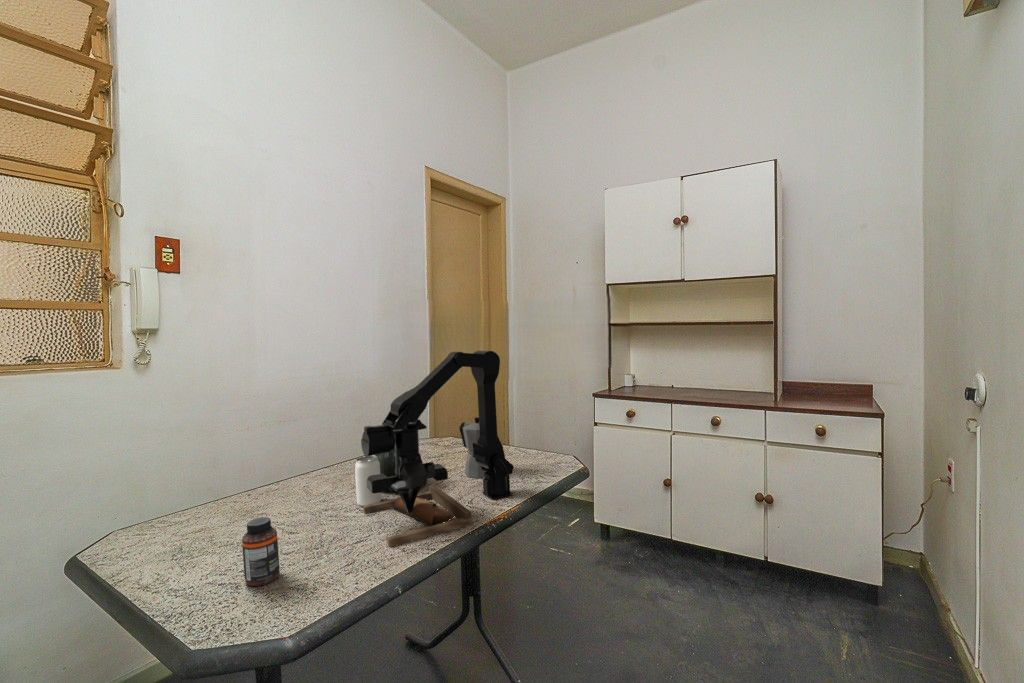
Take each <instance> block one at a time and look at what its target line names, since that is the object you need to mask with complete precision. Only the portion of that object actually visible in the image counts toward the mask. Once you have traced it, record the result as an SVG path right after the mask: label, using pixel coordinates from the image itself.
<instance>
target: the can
mask: <svg viewBox="0 0 1024 683" xmlns="http://www.w3.org/2000/svg"><path fill="white" fill-rule="evenodd" d="M355 461H356V463H355V465H354V472H355V473H354V475H355V476H354V477H355V489H356V490H355V492H356V494H355V495H356V504H357V505H358V506H359V505H360V507H363V506H366V505H370V504H375V503H379V502H382V498H383V496H382V492H380V493H371V491H370V490H369V489H368V488H367V478H368V477H369V476H372V475H378V474H380V463H379V461H378V457H377V456H375V455H372V456H365V455H364V456H361V457H358V458H357V459H356V460H355Z"/></svg>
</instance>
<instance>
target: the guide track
mask: <svg viewBox="0 0 1024 683" xmlns="http://www.w3.org/2000/svg"><path fill="white" fill-rule="evenodd" d="M428 489H429V491H424V492H421V493H420V492H419V493H418V494H417V497H416V498H421V499H424V500H425V499H426V500H430V499H429V498H431V499H432V500H433V499H434V500H435V501H434V500H433V501H434V502H435V503H436V504H438V503H439V504H440V505H439V504H438V505H439V506H440V507H442V506H443V507H444V508H445V509H446V510H448V511H449V512H451V513H452V514H453V515H454V516H455V517H456V518H455V519H452V520H450V521H447V522H445V523H441V524H437V525H433V526H430V525H428V526H426V527H423V528H419V529H414V530H410V531H407V532H403V533H399V534H396V535H391V536H388V537H386V543H387V544H388V545H387V544H386V545H387V546H388V548H390V546H391V547H393V546H394V545H395V546H397V545H398V546H399V545H401V543H402V544H405V542H406V543H409V542H413V541H417V540H420V539H423V537H424V538H427V536H428V537H431V536H434V535H433V534H435V535H438V534H437V533H439V534H442V532H443V533H446V532H450V531H454V530H456V528H457V529H461V528H463V527H464V526H465V527H467V525H468V526H471V525H474V524H475V520H474V518H475V517H473V516H472V511H471V510H469V509H468V508H467V507H465V505H462V504H461V503H460V502H459V501H457V500H456V499H454V498H453V497H452V496H450V495H449V494H448V493H446V492H445V491H444V490H442V489H440V487H438V486H437V485H435V484H432V485H429V488H428ZM396 499H397V498H393V499H388V500H385V501H380V502H379V503H375V504H370V505H366V506H362V509H363V511H362V512H363V513H364V514H365V513H366V514H368V513H369V514H370V513H373V512H378V510H379V511H383V510H387V509H391V507H392V508H393V504H394V502H395V500H396ZM443 507H442V508H443ZM453 529H454V530H453ZM449 530H450V531H449ZM430 535H431V536H430ZM416 539H417V540H416ZM412 540H413V541H412Z"/></svg>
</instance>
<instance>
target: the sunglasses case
mask: <svg viewBox="0 0 1024 683" xmlns="http://www.w3.org/2000/svg"><path fill="white" fill-rule="evenodd" d="M395 499H396V500H395V502H394V504H393V507H392V509H393V510H394V511H396V512H399V513H403V514H406V515H408V516H409V517H412V518H414V519H416V520H418V521H420V522H423V523H424V524H427V525H428V526H433V525H437V524H441V523H443V522H446V521H447V522H448V520H449V519H452V518H453V517H454V515H453V514H452V513H451V512H449V511H447V510H446V509H444V508H443V507H442V506H440V505H437V502H435V501H434V502H433V500H432V501H431V500H430V499H426V500H424V499H421V498H416V500H415V503H414V506H413V509H412V512H411V513H408V512H407V510H406V508H405V506H404V503H403V501H402V498H401V496H399V497H397V498H395ZM452 520H453V519H452Z"/></svg>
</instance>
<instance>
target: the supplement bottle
mask: <svg viewBox="0 0 1024 683" xmlns="http://www.w3.org/2000/svg"><path fill="white" fill-rule="evenodd" d="M271 521H272V520H271V518H270V517H267V516H261V517H256V518H253V519H250V520H248V522H247V523H246V530H247V531H246V533H244V535H243V536H242V539H241V543H242V544H241V547H242V557H243V558H242V559H243V573H244V574H243V575H244V581H245V584H246V585H248V586H250V587H258V586H264V585H267V584H269V583H271V582H273V581H274V580H276V579H277V578H278V577H279V575H280V572H281V571H280V556H279V543H278V542H279V541H278V540H279V539H278V532H277V531H278V530H277V529H276V528H275V527H273V526H272V522H271Z"/></svg>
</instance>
